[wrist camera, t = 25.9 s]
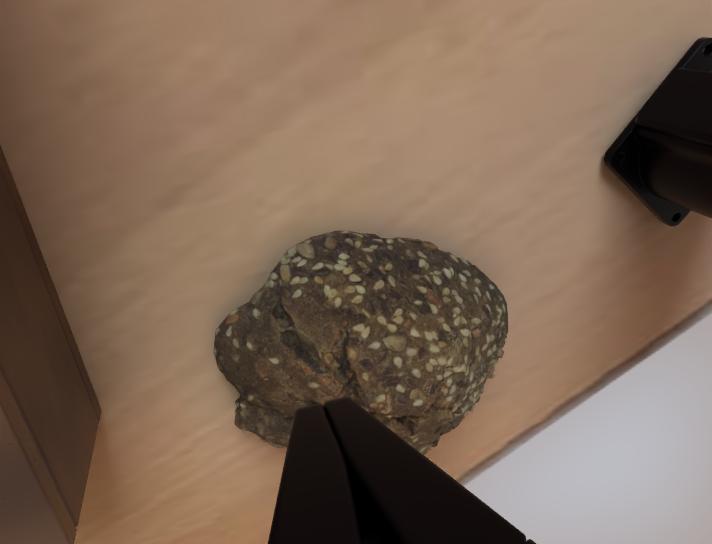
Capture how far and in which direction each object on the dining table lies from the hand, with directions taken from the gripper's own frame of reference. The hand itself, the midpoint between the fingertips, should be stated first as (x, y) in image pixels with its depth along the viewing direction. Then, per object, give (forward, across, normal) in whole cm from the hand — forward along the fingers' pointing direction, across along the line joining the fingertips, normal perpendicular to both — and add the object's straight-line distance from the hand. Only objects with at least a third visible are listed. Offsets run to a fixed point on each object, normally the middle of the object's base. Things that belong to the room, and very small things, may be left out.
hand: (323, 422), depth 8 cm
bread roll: (+13, -4, +8) cm, 16 cm away
